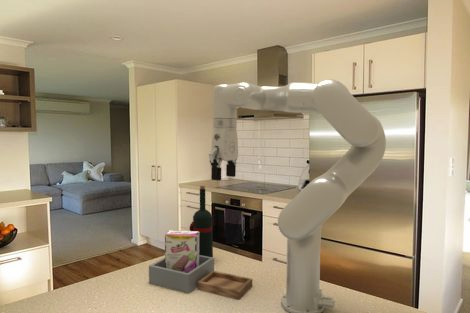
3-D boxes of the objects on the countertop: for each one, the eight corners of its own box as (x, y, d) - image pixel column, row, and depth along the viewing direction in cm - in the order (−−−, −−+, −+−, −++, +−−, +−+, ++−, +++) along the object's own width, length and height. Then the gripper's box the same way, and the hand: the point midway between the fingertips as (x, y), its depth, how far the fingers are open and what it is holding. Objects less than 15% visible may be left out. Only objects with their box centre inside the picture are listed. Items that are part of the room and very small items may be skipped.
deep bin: (214, 274, 120) (214, 257, 120) (188, 293, 106) (188, 274, 106) (177, 266, 127) (177, 250, 127) (149, 283, 113) (148, 265, 113)
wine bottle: (189, 257, 137) (188, 184, 135) (214, 258, 136) (214, 184, 134) (185, 264, 129) (184, 187, 127) (211, 265, 128) (210, 187, 126)
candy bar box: (164, 281, 115) (164, 233, 114) (169, 274, 120) (168, 229, 119) (196, 282, 114) (196, 235, 112) (199, 276, 119) (199, 230, 117)
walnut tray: (252, 286, 111) (252, 278, 111) (239, 299, 102) (239, 291, 102) (213, 277, 118) (213, 270, 117) (197, 289, 109) (197, 281, 108)
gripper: (222, 124, 97) (221, 182, 98) (246, 125, 112) (245, 176, 114) (200, 123, 100) (199, 180, 102) (227, 124, 116) (226, 174, 117)
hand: (223, 178), depth 108 cm, fingers open, 9 cm apart
